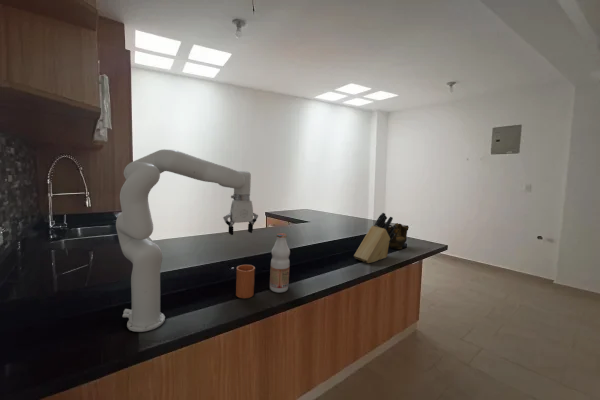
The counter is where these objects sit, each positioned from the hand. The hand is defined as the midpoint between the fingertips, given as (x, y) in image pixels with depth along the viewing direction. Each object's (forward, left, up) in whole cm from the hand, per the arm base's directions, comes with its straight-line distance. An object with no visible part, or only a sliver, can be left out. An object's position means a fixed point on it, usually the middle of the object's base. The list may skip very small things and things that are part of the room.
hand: (240, 233), depth 138 cm
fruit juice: (+19, +5, -28) cm, 35 cm away
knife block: (+78, +67, -28) cm, 107 cm away
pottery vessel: (+100, +98, -28) cm, 143 cm away
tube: (+4, -4, -28) cm, 29 cm away
